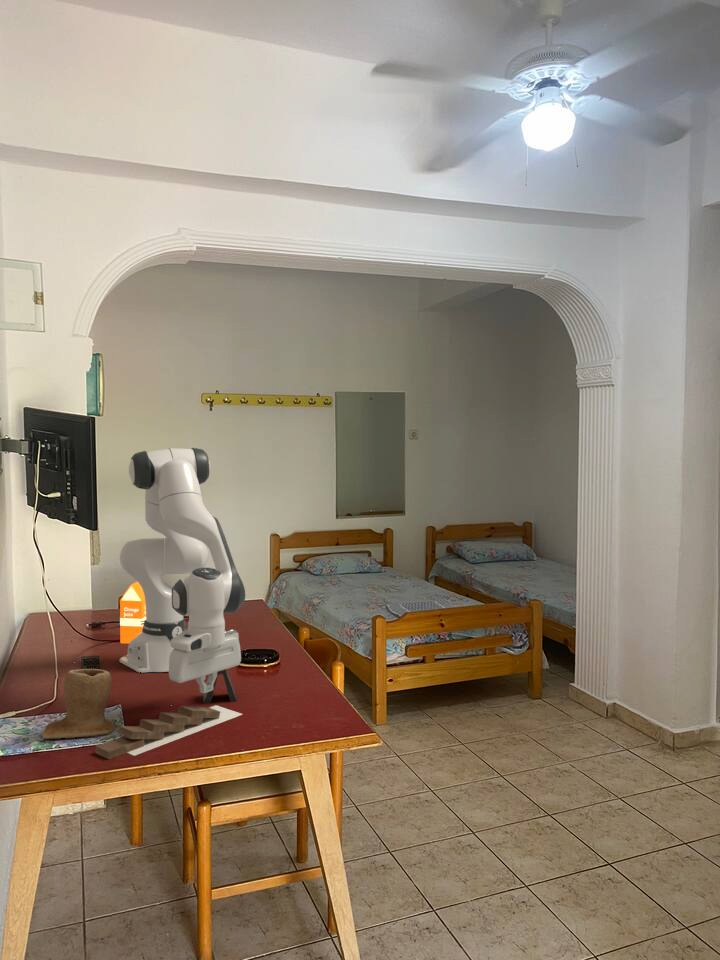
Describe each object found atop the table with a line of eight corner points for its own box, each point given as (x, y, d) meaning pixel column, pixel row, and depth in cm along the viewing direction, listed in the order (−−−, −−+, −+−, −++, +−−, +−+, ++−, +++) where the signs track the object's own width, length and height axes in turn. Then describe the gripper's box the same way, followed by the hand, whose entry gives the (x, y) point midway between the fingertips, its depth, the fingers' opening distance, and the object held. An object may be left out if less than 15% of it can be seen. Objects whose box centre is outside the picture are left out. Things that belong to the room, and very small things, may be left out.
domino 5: (218, 718, 186) (191, 717, 180) (205, 713, 190) (177, 712, 183) (220, 711, 187) (192, 710, 180) (206, 706, 190) (179, 705, 183)
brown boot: (116, 722, 186) (116, 661, 185) (112, 741, 174) (112, 676, 174) (50, 726, 182) (49, 665, 182) (41, 746, 171) (41, 680, 170)
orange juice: (151, 637, 264) (151, 580, 263) (142, 644, 256) (141, 585, 254) (130, 636, 265) (129, 579, 264) (119, 643, 256) (119, 584, 255)
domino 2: (162, 739, 173) (130, 739, 166) (149, 733, 176) (117, 733, 169) (164, 731, 174) (132, 731, 167) (150, 726, 177) (119, 726, 170)
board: (106, 748, 170) (106, 743, 170) (215, 708, 196) (215, 705, 196) (134, 760, 164) (134, 755, 164) (243, 718, 189) (243, 714, 189)
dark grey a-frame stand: (236, 697, 205) (236, 653, 204) (237, 705, 199) (238, 659, 198) (201, 699, 202) (202, 655, 202) (202, 707, 197) (202, 661, 196)
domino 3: (183, 731, 178) (152, 731, 171) (169, 726, 181) (139, 726, 174) (184, 724, 178) (154, 724, 171) (171, 719, 181) (140, 719, 174)
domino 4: (201, 724, 182) (172, 724, 175) (187, 719, 185) (158, 719, 178) (203, 717, 182) (174, 717, 175) (189, 713, 185) (160, 712, 179)
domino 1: (144, 746, 169) (108, 759, 162) (130, 740, 172) (95, 753, 165) (144, 739, 169) (108, 752, 162) (130, 733, 172) (95, 745, 165)
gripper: (229, 625, 196) (229, 678, 196) (164, 641, 179) (164, 699, 180) (246, 629, 192) (246, 683, 192) (181, 646, 176) (181, 705, 176)
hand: (206, 691), depth 186 cm, fingers closed
